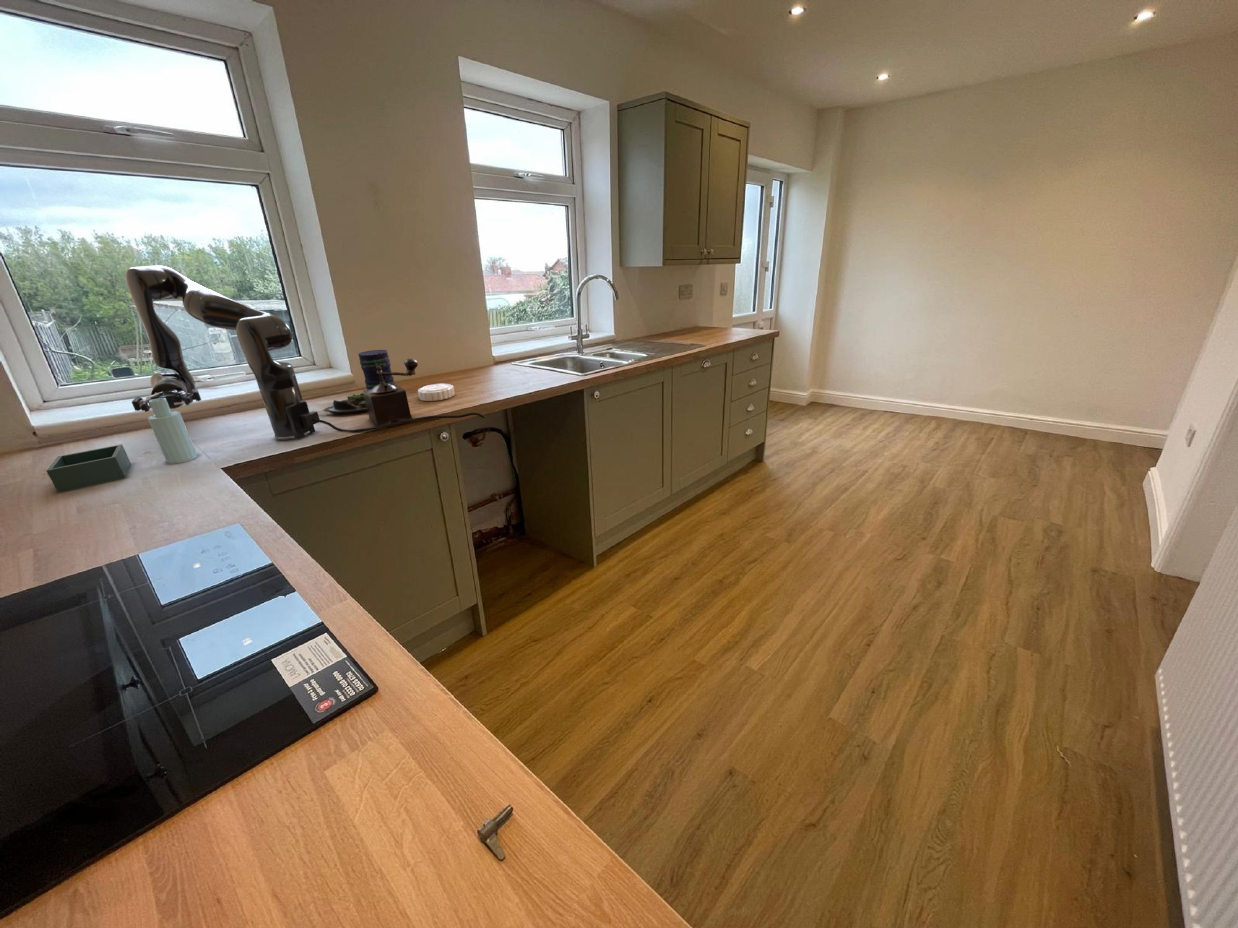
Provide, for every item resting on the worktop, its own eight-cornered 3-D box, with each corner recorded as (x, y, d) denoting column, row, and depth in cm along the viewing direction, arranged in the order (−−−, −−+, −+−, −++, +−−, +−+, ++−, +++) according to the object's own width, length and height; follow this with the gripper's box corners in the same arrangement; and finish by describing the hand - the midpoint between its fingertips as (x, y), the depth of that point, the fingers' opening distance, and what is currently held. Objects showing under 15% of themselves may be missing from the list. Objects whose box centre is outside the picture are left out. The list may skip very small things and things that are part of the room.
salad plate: (338, 402, 176) (334, 389, 175) (391, 396, 180) (388, 384, 178) (320, 418, 159) (316, 404, 157) (380, 412, 162) (377, 398, 160)
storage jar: (361, 395, 183) (351, 354, 178) (382, 388, 192) (373, 349, 186) (382, 397, 180) (372, 355, 174) (402, 390, 188) (393, 350, 182)
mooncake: (413, 398, 177) (411, 388, 176) (444, 390, 185) (442, 380, 184) (429, 403, 169) (427, 393, 168) (461, 395, 177) (459, 385, 176)
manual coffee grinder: (377, 428, 147) (362, 367, 140) (368, 419, 155) (354, 362, 148) (430, 416, 156) (418, 358, 148) (419, 409, 164) (407, 353, 157)
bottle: (203, 455, 133) (179, 396, 126) (179, 464, 127) (153, 403, 121) (185, 453, 134) (161, 396, 128) (161, 463, 129) (134, 403, 122)
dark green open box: (131, 464, 129) (122, 444, 127) (125, 478, 120) (115, 456, 118) (69, 476, 123) (58, 456, 121) (58, 492, 114) (46, 470, 112)
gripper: (132, 385, 141) (124, 396, 129) (195, 376, 148) (194, 386, 136) (143, 410, 144) (137, 424, 132) (205, 400, 151) (204, 412, 139)
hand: (166, 404), depth 134 cm, fingers open, 8 cm apart
